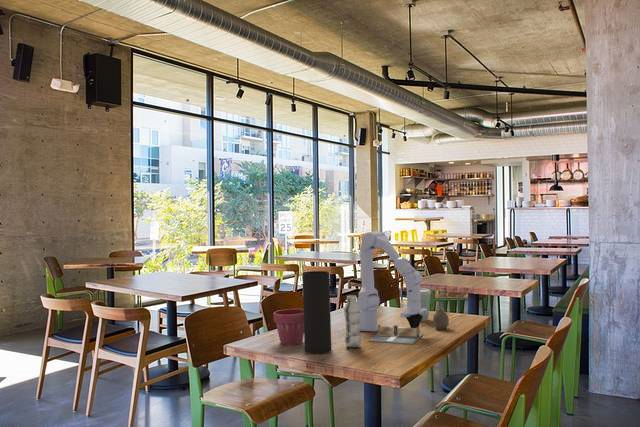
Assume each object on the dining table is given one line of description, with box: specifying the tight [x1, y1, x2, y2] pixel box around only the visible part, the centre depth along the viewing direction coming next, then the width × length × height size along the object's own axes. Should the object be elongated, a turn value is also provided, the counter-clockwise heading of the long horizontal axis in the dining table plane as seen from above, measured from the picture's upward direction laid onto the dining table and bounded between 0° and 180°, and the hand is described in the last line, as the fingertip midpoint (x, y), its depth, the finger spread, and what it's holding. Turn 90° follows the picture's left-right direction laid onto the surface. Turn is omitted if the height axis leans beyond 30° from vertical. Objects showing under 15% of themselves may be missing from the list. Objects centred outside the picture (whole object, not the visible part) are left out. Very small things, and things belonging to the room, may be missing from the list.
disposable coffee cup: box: [420, 287, 432, 322], centre depth 258 cm, size 11×11×15 cm
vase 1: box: [302, 270, 332, 355], centre depth 206 cm, size 10×10×30 cm
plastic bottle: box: [343, 294, 362, 349], centre depth 210 cm, size 6×7×20 cm
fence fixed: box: [377, 324, 399, 336], centre depth 227 cm, size 9×2×5 cm, turn 66°
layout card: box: [368, 330, 424, 345], centre depth 223 cm, size 18×19×1 cm
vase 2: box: [432, 308, 450, 331], centre depth 238 cm, size 7×7×9 cm
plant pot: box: [273, 308, 304, 346], centre depth 220 cm, size 14×14×13 cm
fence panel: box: [398, 326, 421, 338], centre depth 223 cm, size 9×1×4 cm, turn 66°
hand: (414, 332), depth 225 cm, fingers closed
